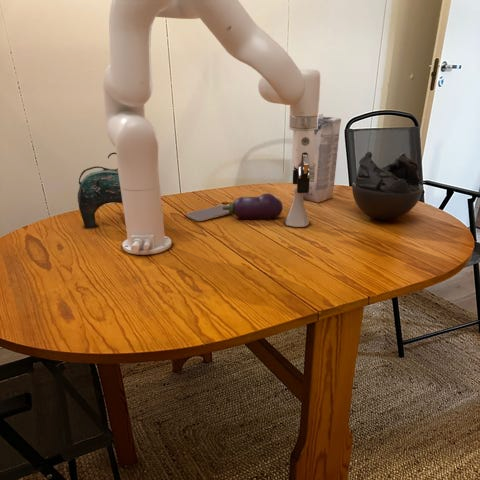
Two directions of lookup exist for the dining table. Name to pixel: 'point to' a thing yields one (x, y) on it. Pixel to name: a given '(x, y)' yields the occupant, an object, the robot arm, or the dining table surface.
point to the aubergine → (255, 207)
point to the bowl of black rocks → (387, 187)
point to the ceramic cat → (98, 192)
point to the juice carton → (324, 159)
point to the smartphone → (208, 213)
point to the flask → (297, 212)
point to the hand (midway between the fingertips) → (300, 188)
